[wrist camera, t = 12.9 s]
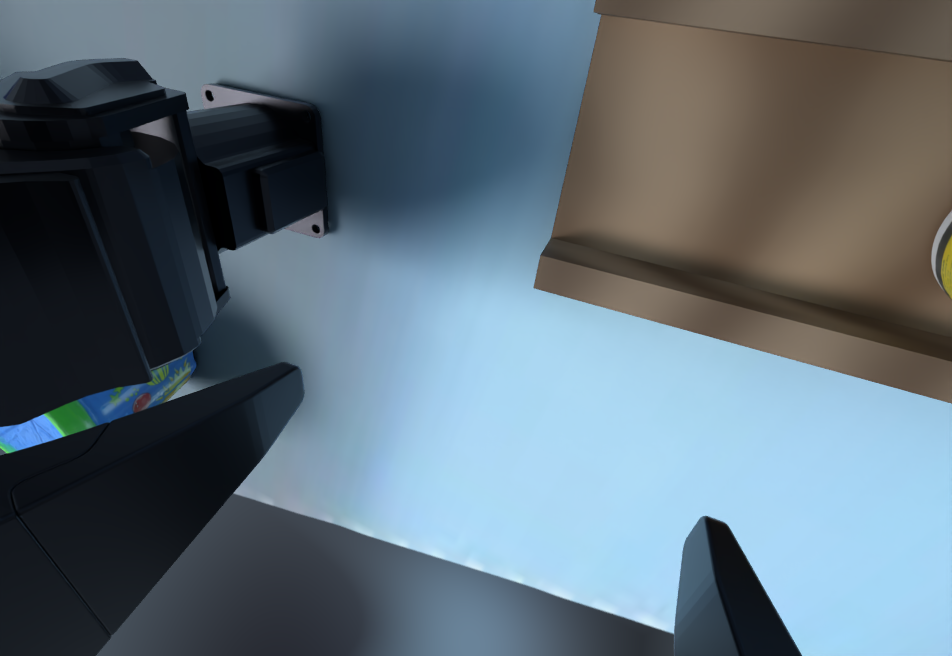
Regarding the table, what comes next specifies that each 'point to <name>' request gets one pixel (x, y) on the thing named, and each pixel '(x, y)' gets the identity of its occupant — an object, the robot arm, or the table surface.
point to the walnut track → (768, 179)
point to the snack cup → (99, 407)
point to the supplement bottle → (943, 256)
